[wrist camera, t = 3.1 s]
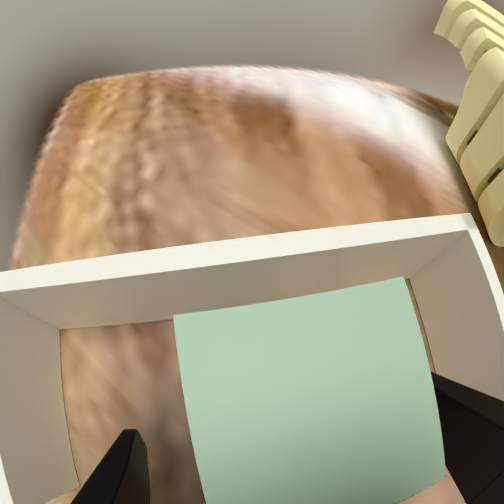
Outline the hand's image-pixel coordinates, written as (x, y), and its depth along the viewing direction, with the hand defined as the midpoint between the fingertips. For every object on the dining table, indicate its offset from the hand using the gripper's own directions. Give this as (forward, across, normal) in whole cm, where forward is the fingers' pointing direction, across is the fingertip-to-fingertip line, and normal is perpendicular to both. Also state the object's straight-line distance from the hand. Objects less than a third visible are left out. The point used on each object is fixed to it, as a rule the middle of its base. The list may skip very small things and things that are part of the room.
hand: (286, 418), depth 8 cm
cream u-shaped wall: (+6, 0, +6) cm, 8 cm away
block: (+6, 0, +6) cm, 8 cm away
